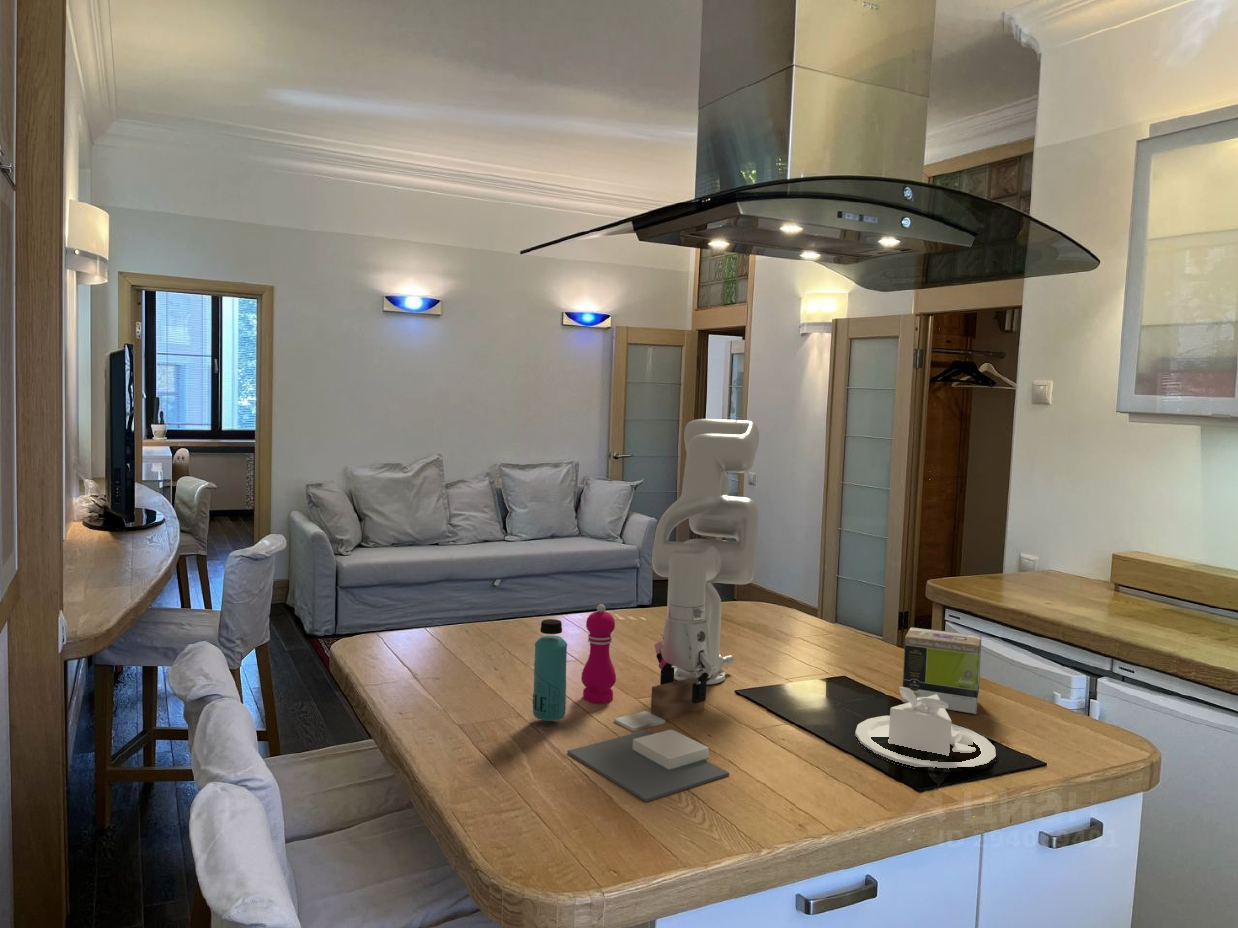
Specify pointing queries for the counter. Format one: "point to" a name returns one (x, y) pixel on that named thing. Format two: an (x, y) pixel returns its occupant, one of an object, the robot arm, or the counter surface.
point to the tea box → (943, 667)
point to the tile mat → (643, 768)
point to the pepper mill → (599, 658)
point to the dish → (923, 733)
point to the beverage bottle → (550, 673)
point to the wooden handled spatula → (663, 705)
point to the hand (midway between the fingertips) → (682, 694)
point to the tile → (670, 749)
